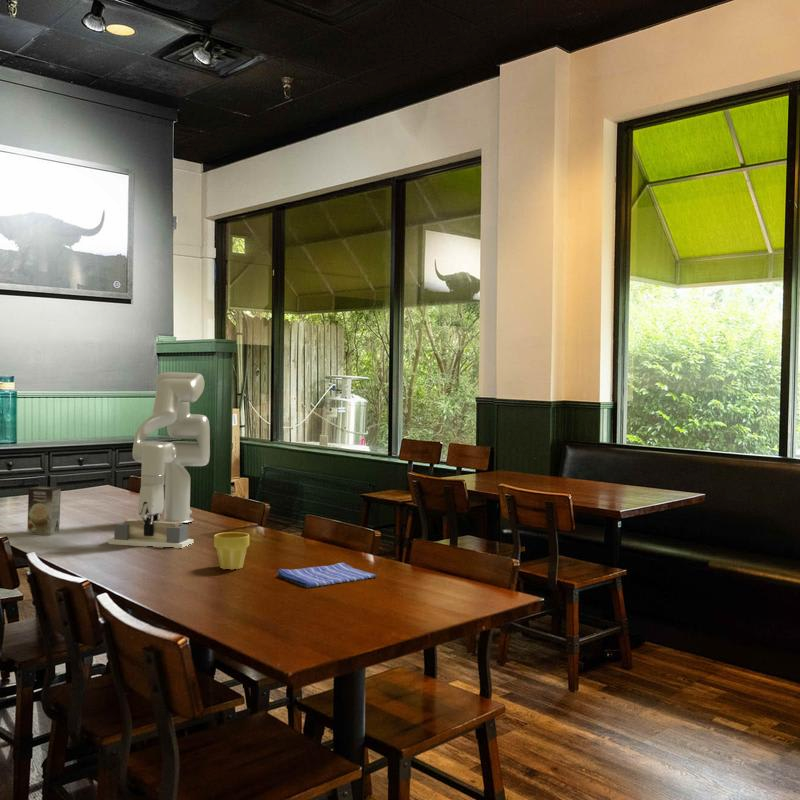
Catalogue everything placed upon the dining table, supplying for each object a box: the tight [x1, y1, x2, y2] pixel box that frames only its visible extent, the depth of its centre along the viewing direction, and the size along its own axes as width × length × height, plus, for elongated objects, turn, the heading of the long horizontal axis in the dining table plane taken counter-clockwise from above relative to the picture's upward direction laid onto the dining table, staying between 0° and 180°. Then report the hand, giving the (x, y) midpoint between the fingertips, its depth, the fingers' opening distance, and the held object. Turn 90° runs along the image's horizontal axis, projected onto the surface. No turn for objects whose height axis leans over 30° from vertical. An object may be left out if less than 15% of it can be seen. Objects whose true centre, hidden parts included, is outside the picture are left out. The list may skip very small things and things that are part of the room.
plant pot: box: [213, 531, 251, 571], centre depth 239 cm, size 10×10×10 cm
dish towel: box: [276, 562, 377, 589], centre depth 231 cm, size 17×24×3 cm
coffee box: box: [26, 485, 62, 536], centre depth 284 cm, size 9×6×16 cm
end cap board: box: [108, 520, 194, 549], centre depth 271 cm, size 9×26×6 cm, turn 81°
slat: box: [124, 519, 179, 541], centre depth 271 cm, size 2×18×6 cm, turn 81°
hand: (151, 534), depth 271 cm, fingers open, 3 cm apart
